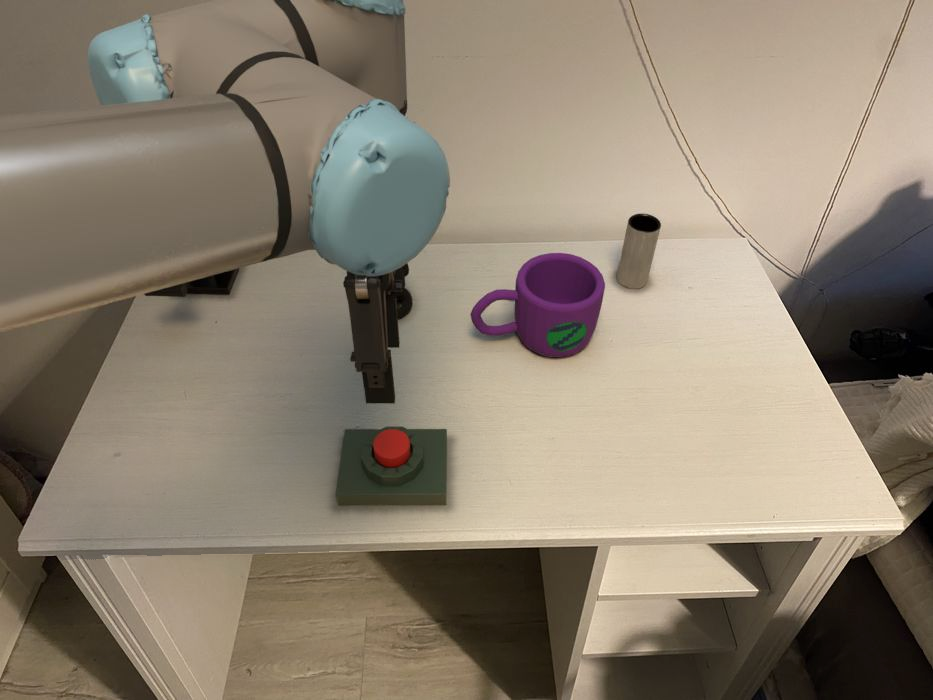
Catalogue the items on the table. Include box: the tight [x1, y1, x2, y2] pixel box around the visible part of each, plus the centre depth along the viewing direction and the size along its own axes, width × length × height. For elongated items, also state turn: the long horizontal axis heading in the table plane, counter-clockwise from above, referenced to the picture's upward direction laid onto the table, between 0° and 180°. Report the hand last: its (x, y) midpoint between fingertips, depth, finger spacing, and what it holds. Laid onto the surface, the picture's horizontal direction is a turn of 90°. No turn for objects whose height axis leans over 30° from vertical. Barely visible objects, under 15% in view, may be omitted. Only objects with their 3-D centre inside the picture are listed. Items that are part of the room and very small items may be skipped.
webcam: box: [390, 262, 413, 320], centre depth 98 cm, size 8×8×10 cm
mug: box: [470, 252, 606, 358], centre depth 94 cm, size 17×11×10 cm, turn 100°
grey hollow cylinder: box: [616, 213, 662, 290], centre depth 103 cm, size 4×4×10 cm
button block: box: [335, 426, 448, 506], centre depth 80 cm, size 12×9×4 cm
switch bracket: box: [182, 268, 240, 296], centre depth 101 cm, size 9×8×15 cm
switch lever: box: [143, 284, 188, 298], centre depth 94 cm, size 16×5×2 cm, turn 178°
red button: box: [373, 429, 410, 468], centre depth 79 cm, size 4×4×2 cm
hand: (383, 371), depth 70 cm, fingers open, 7 cm apart
